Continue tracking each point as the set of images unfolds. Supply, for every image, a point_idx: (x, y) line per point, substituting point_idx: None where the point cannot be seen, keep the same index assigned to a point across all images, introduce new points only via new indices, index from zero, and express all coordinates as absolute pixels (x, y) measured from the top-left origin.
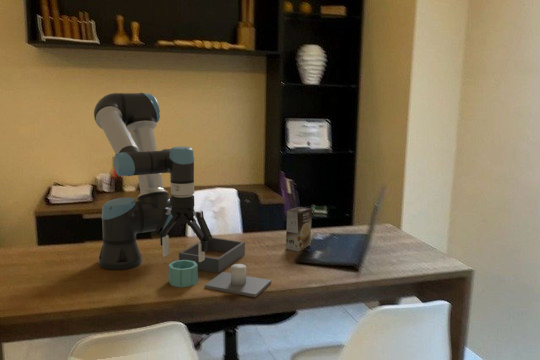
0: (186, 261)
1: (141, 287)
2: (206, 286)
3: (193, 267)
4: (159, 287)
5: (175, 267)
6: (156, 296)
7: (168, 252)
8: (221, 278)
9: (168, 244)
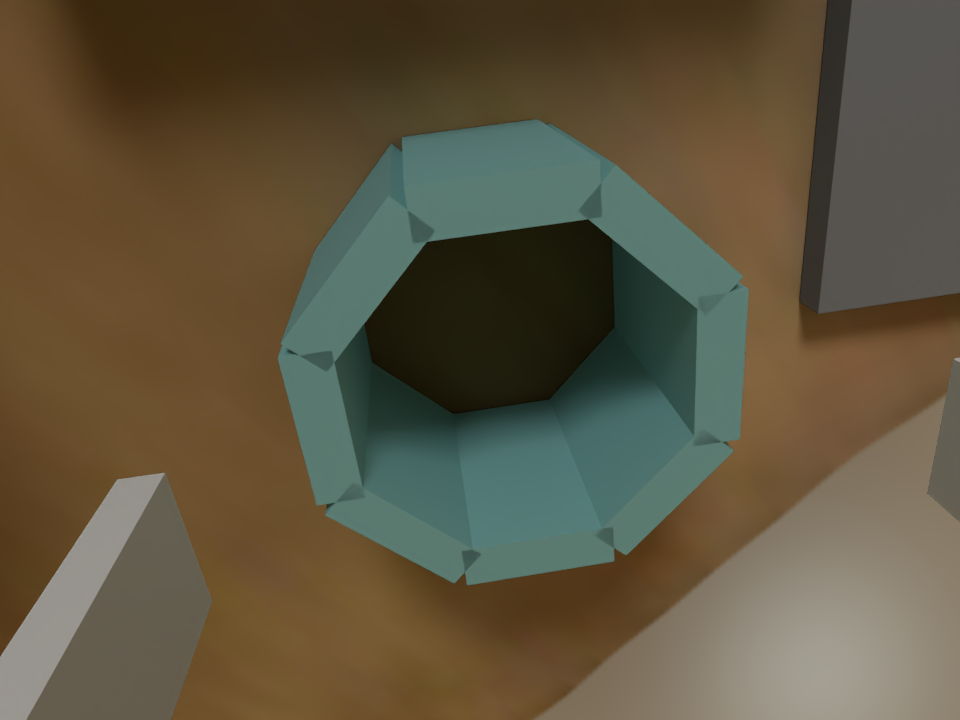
0: (464, 236)
1: (230, 613)
2: (830, 306)
3: (737, 404)
4: None
5: (345, 348)
6: (493, 656)
7: (157, 520)
8: (943, 12)
9: (75, 664)
